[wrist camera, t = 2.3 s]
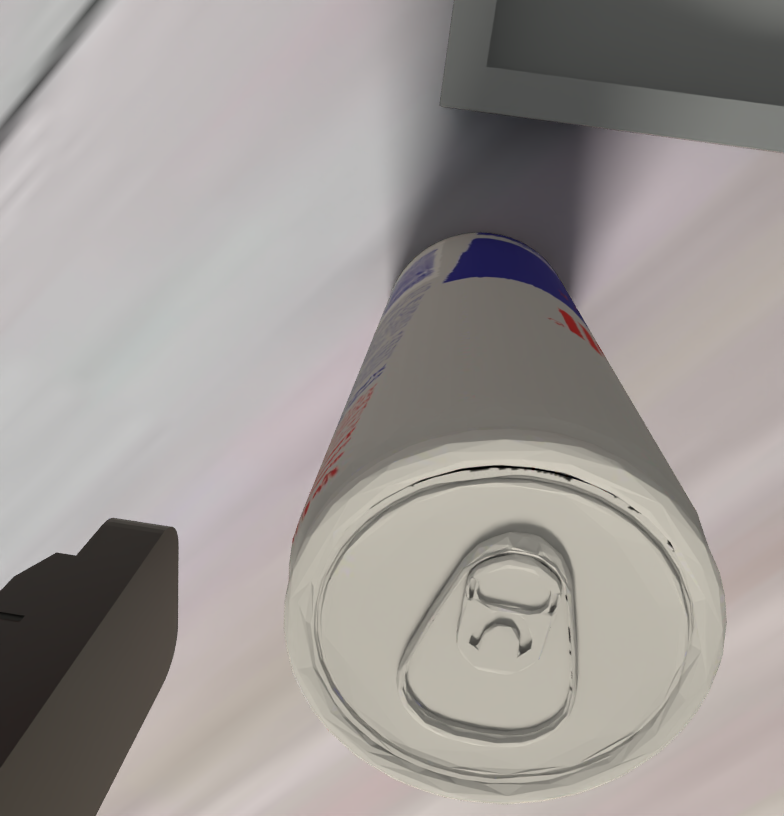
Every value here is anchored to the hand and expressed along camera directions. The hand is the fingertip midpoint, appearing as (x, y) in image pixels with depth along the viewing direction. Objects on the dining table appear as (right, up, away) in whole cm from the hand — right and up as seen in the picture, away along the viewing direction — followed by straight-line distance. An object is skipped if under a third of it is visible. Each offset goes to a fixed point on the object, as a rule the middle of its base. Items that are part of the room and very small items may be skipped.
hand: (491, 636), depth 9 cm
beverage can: (+1, +6, +14) cm, 15 cm away
